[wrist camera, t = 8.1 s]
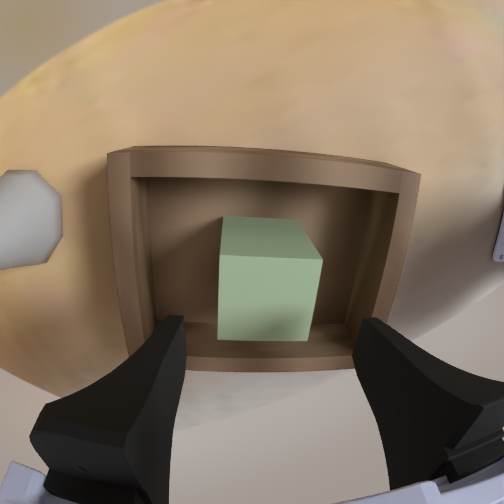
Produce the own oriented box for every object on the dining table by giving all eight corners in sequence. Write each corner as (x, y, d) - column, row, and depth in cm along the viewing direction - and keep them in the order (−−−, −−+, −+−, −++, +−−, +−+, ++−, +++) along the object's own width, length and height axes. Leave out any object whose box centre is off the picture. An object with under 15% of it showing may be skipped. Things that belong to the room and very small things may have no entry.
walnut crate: (385, 162, 19) (420, 174, 15) (351, 329, 24) (370, 366, 20) (133, 146, 18) (107, 153, 14) (145, 325, 23) (130, 365, 19)
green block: (297, 220, 19) (323, 259, 14) (288, 285, 21) (307, 340, 16) (223, 215, 19) (219, 255, 13) (220, 282, 21) (217, 339, 15)
